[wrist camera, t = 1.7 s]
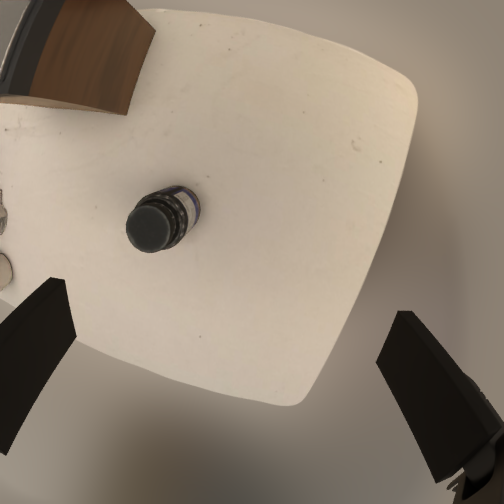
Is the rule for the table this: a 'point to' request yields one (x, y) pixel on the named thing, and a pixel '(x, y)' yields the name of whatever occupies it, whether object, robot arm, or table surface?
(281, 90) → the table surface
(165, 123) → the table surface
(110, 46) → the stand
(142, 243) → the pill bottle
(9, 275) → the cup
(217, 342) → the table surface
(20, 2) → the scale
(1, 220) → the zipper pull
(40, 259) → the table surface
